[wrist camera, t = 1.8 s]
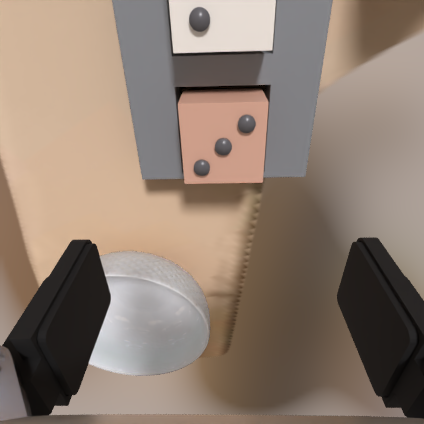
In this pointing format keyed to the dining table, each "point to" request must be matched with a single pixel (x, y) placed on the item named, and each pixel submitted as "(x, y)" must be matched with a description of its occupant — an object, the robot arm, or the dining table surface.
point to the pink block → (223, 135)
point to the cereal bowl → (150, 316)
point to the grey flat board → (222, 82)
